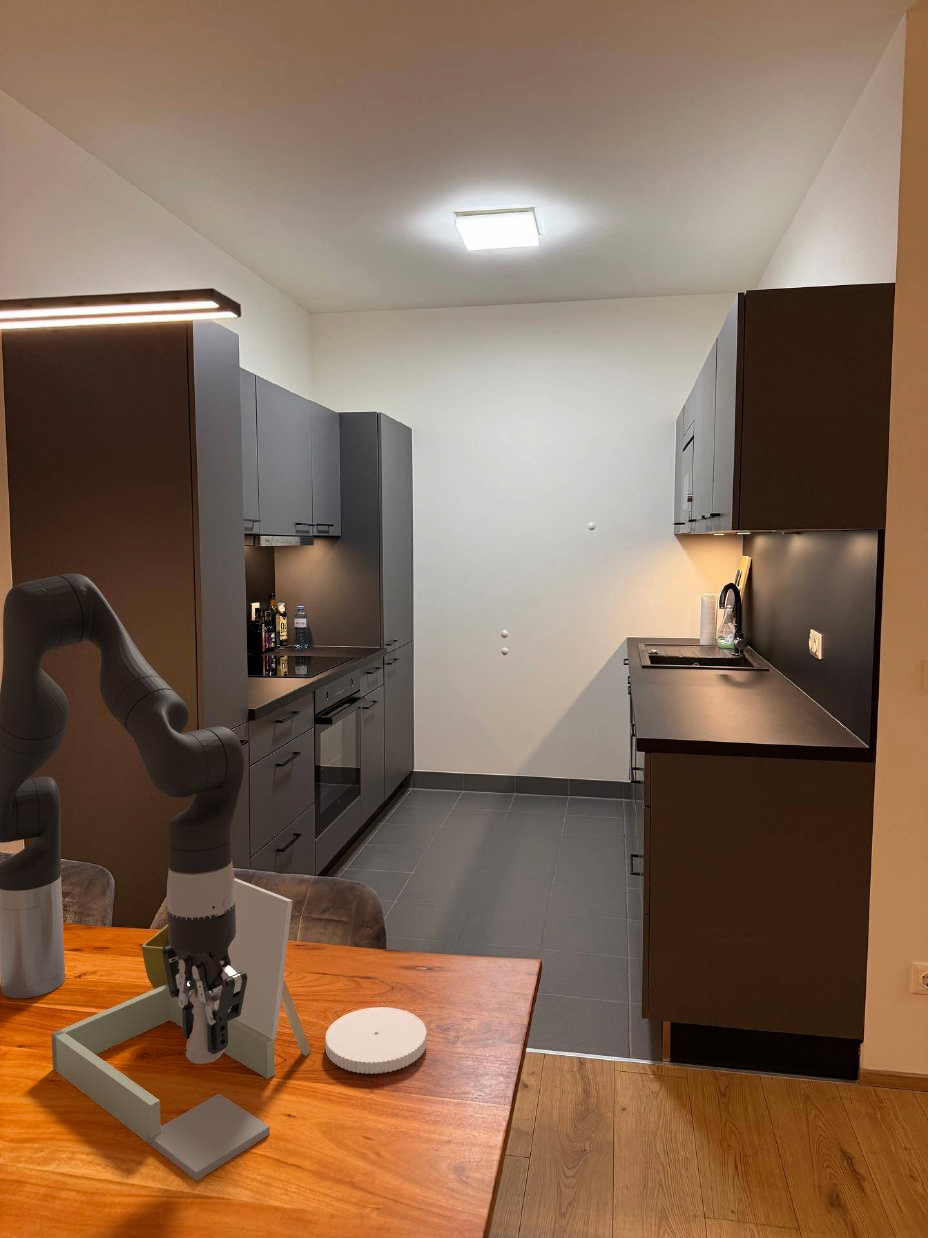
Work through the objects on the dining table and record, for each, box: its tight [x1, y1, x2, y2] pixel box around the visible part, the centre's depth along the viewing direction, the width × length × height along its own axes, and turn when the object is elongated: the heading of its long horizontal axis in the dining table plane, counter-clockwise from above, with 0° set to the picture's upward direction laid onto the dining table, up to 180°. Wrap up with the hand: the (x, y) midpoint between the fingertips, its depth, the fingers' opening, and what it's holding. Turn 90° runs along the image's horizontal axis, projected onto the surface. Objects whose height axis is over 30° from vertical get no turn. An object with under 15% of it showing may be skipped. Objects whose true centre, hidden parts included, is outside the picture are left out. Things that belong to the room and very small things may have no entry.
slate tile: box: [146, 1093, 271, 1182], centre depth 105 cm, size 10×10×1 cm
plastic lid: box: [324, 1006, 428, 1075], centre depth 123 cm, size 14×14×2 cm
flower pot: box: [141, 923, 169, 990], centre depth 139 cm, size 9×9×9 cm
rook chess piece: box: [185, 987, 225, 1065], centre depth 104 cm, size 4×4×8 cm
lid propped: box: [176, 877, 293, 1040], centre depth 125 cm, size 24×4×18 cm, turn 51°
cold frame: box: [51, 979, 312, 1145], centre depth 120 cm, size 24×24×12 cm
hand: (205, 1042), depth 104 cm, fingers closed on rook chess piece, 4 cm apart
